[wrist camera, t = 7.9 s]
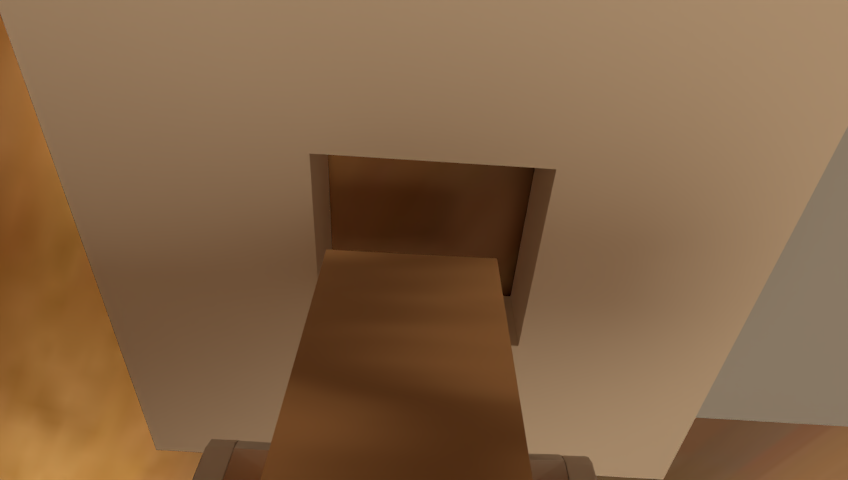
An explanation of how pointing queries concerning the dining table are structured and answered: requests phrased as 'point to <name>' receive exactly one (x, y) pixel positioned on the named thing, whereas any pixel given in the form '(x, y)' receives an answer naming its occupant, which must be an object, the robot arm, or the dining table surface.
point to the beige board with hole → (441, 142)
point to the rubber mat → (797, 323)
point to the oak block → (402, 375)
